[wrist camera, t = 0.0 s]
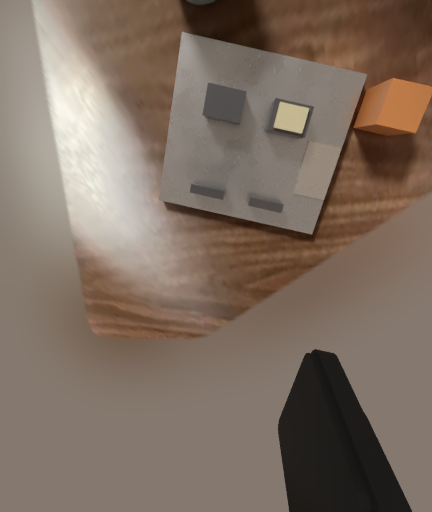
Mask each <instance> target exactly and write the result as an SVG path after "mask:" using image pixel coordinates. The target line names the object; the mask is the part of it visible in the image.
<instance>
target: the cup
mask: <svg viewBox="0 0 432 512" xmlns="http://www.w3.org/2000/svg"><path fill="white" fill-rule="evenodd" d="M185 1H187V2H189V3H191V4H195V5H207V4H210V3H213V2H215V1H217V0H185Z"/></svg>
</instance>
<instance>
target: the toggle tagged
mask: <svg viewBox="0 0 432 512" xmlns="http://www.w3.org/2000/svg"><path fill="white" fill-rule="evenodd" d="M313 109H314V106H309V105H305V104H301V103H296V102H292V101H287V100H283V99H279V98H275V100H274V101H273V102H272V106H271V110H270V114H269V118H268V122H267V126H266V130H265V131H267V132H271V133H276V134H280V135H284V136H289V137H293V138H298V139H302V138H305V136H306V133H307V130H308V126H309V123H310V120H311V116H312V113H313Z"/></svg>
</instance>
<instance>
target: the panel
mask: <svg viewBox="0 0 432 512" xmlns="http://www.w3.org/2000/svg"><path fill="white" fill-rule="evenodd" d="M366 77H367V74H364V73H359V72H355V71H351V70H346V69H342V68H337V67H333V66H329V65H324V64H320V63H316V62H311V61H307V60H302V59H298V58H294V57H289V56H285V55H281V54H276V53H272V52H267V51H263V50H259V49H254V48H250V47H246V46H241V45H237V44H232V43H228V42H224V41H219V40H215V39H211V38H206V37H202V36H197V35H193V34H189V33H184V32H182V37H181V44H180V51H179V58H178V65H177V72H176V80H175V87H174V94H173V101H172V108H171V116H170V123H169V130H168V137H167V144H166V151H165V159H164V166H163V173H162V180H161V187H160V195H159V200H161V201H165V202H170V203H174V204H179V205H183V206H188V207H192V208H196V209H201V210H205V211H210V212H214V213H219V214H223V215H228V216H232V217H236V218H241V219H245V220H250V221H254V222H259V223H263V224H268V225H272V226H277V227H281V228H285V229H290V230H294V231H299V232H303V233H308V234H312V233H313V230H314V228H315V225H316V222H317V219H318V216H319V213H320V210H321V207H322V204H323V201H324V199H325V196H326V193H327V190H328V187H329V184H330V181H331V178H332V175H333V172H334V170H335V167H336V164H337V161H338V158H339V155H340V152H341V149H342V146H343V143H344V141H345V138H346V135H347V132H348V129H349V126H350V123H351V120H352V117H353V114H354V112H355V109H356V106H357V103H358V100H359V97H360V94H361V91H362V88H363V85H364V83H365V80H366ZM208 83H213V84H217V85H221V86H226V87H230V88H235V89H239V90H243V91H247V93H246V99H245V103H244V108H243V112H242V117H241V121H240V125H236V124H232V123H227V122H223V121H218V120H214V119H209V118H205V117H204V116H203V115H202V114H203V108H204V103H205V97H206V91H207V86H208ZM275 98H279V99H283V100H287V101H292V102H296V103H301V104H305V105H309V106H314V109H313V113H312V116H311V120H310V123H309V126H308V130H307V133H306V136H305V138H302V139H298V138H293V137H289V136H284V135H280V134H276V133H271V132H267V131H265V130H266V126H267V122H268V118H269V114H270V110H271V106H272V102H273V101H274V100H275Z"/></svg>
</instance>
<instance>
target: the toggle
mask: <svg viewBox="0 0 432 512" xmlns="http://www.w3.org/2000/svg"><path fill="white" fill-rule="evenodd" d="M246 93H247V91H243V90H239V89H235V88H230V87H226V86H221V85H217V84H213V83H208V86H207V91H206V97H205V103H204V108H203V114H202V115H203V116H204V117H205V118H209V119H214V120H218V121H223V122H227V123H232V124H236V125H240V121H241V117H242V112H243V108H244V103H245V99H246Z"/></svg>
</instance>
